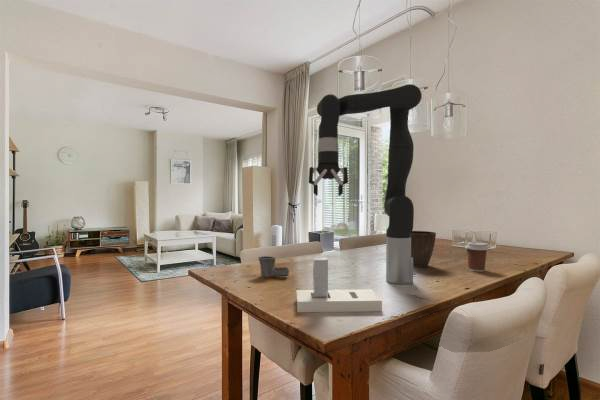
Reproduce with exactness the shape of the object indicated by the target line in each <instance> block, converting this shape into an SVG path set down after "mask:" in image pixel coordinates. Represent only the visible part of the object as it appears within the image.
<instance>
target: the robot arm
mask: <svg viewBox="0 0 600 400" xmlns="http://www.w3.org/2000/svg"><path fill="white" fill-rule="evenodd" d="M422 95H423V93H422V91H421V89H420V87H418V86H417V85H415V84H411V83H410V84H404V85H401V86H398V87H394V88H390V89H386V90H379V91H371V92H361V93H352V94H351V93H350V94H347V95H344V96H342V97H338V96H336V95H335V94H332V93H328V94H325V95H324V96H323V97H322V98H321V99H320V101H319V102H317V103H318V104H317V106H316V112H317V115H318V116H319V117H320V118H321V119H320V123H319V125H318V143H317V167H313V166H310V167H309V170H308V184H310V185H313V195H315V196H316V197H317V196H318V194H319V192H318V191H319V190H318V189H319V187H318V185H319V183H320V181H321V180H322V179H323V180H327V179H329V180H335V182H337V184H338V185H337V190H338V191H337V195H338V197H341V196H342V195H343V194H344V185H347V184H348V183H349V177H348V175H349V173H348V167H346V166H345V167H340V165H339V128H338V126H339V120H340V116H346V115H355V114H363V113H368V112H371V111H372V112H373V111H376V110H379V109H383V108H389V117H390V119H389V121H390V129H389V144H388V156H387V157H388V159H387V184H386V192H385V198H384V204H383V209H384V212H385V214H386V215H387V216H388V227H387V228H386V233H385V242H386V243H385V244H386V245H385V255H386V256H385V278H386V279H385V280H386V282H388V283H391V284H397V285H409V284H413V283H414V266H413V258H412V257H411V233H412V231H414V219H415V218H414V217H415V216H414V215H415V212H414V210H415V209H414V203H413V201H412V199H411V198H409V196H407V195H406V189H407V188H406V185H407V180H408V178H409V175H410V172H411V169H412V165H413V160H414V149H415V148H414V147H415V146H414V141H413V138H412V135H411V132H410V130H409V129H410V128H409V114H410V110H413V109H414V108H416V107H417V106H418V105H419V104H420V102H421V100H422V98H423V97H422ZM316 172H317V174H319V175H318V176H317V178H316V179H315V180H313V178H314V177H313V176H314V174H315V173H316ZM339 173H341V174H342V176H343V177H342V178H343V180H341V178H340V176H339V175H338V174H339Z"/></svg>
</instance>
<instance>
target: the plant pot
mask: <svg viewBox="0 0 600 400" xmlns="http://www.w3.org/2000/svg"><path fill="white" fill-rule="evenodd" d="M436 237H437V233H436V232H434V231H427V230H426V231H425V230H412V233H411V257H412V258H413V267H415V268H426V267H427V268H428V266H429V264H430V261H431V258H432V255H433V252H434V248H435V243H436Z"/></svg>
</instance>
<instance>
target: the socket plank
mask: <svg viewBox="0 0 600 400" xmlns="http://www.w3.org/2000/svg"><path fill="white" fill-rule="evenodd" d="M296 308H297V313H337V312H338V313H339V312H340V313H342V312H343V313H346V312H348V313H349V312H350V313H352V312H353V313H355V312H361V313H363V312H383V300H382V299H381V298H380V297H379V296H378V294H377V293H376V292H374V290H373V289H371V288H370V289H328V298H313V289H304V290H303V289H299V290H298V289H297V290H296Z"/></svg>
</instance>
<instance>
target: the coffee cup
mask: <svg viewBox="0 0 600 400" xmlns="http://www.w3.org/2000/svg"><path fill="white" fill-rule="evenodd" d="M465 249H466V254H467V264H468V265H467V267H468V270H469V271H472V272H478V273H479V272H481V273H483V272H485V271H486V270H485V269H486V262H487V251H488V250H489V247H488V246H487V245H486V243H484V242H475V241H473V242H471V241H470V242H467V245H465Z"/></svg>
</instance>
